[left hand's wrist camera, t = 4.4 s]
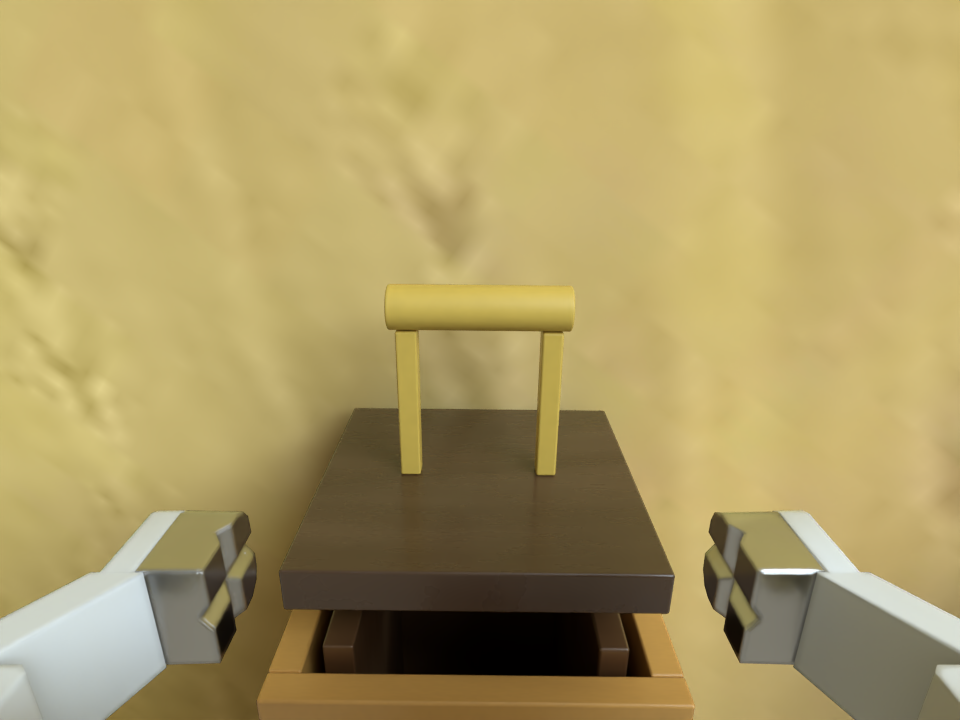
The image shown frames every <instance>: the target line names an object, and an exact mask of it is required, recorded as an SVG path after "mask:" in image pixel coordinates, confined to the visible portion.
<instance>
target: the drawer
mask: <svg viewBox="0 0 960 720" xmlns="http://www.w3.org/2000/svg"><path fill="white" fill-rule="evenodd" d="M384 309H385V322H386V326H387V328H388V329H389V330H396V332H395V346H396V368H397V390H398V409H375V408H356V409H354V411H353V413H352V416H351V418H350V420H349V422H348V424H347V426H346V428H345V431H344V433H343V435H342V437H341V439H340V441H339V443H338V446H337V448H336V450H335V452H334V454H333V456H332V459H331V461H330V463H329V465H328V467H327V469H326V471H325V474H324V476H323V478H322V480H321V482H320V484H319V486H318V489H317V491H316V493H315V495H314V497H313V499H312V501H311V504H310V506H309V508H308V510H307V512H306V514H305V516H304V519H303V521H302V523H301V525H300V527H299V529H298V532H297V534H296V536H295V538H294V540H293V542H292V544H291V547H290V549H289V551H288V553H287V555H286V557H285V559H284V562H283V564H282V566H281V568H280V570H279V576H280V583H281V590H282V597H283V604H284V609H286V610H334V611H333V615H332V618H331V621H330V624H329V627H328V631H327V634H326V637H325V640H324V643H323V654H324V663H325V672H326V673H344V674H430V675H517V676H603V677H626V672H627V665H628V657H629V646H628V643H627V639H626V636H625V632H624V628H623V625H622V621H621V618H620V614H619V613H635V614H668V613H669V610H670V604H671V597H672V591H673V584H674V578H675V575H674V573H673V570H672V568H671V566H670V563H669V561H668V559H667V556H666V554H665V552H664V549H663V547H662V545H661V542H660V540H659V538H658V535H657V533H656V531H655V528H654V526H653V524H652V521H651V519H650V517H649V514H648V512H647V510H646V507H645V505H644V503H643V500H642V498H641V496H640V493H639V491H638V489H637V486H636V484H635V482H634V479H633V477H632V475H631V473H630V470H629V468H628V466H627V463H626V461H625V459H624V456H623V454H622V452H621V449H620V447H619V445H618V442H617V440H616V438H615V435H614V433H613V431H612V428H611V426H610V424H609V421H608V419H607V417H606V414H605V412H604V411H570V410H559V408H560V392H561V376H562V360H563V344H564V334H563V331H571V330H572V328H573V325H574V317H575V295H574V290H573V287H572V286H530V285H427V284H389V285H387V287H386V291H385V304H384ZM418 330H469V331H541V341H540V362H539V383H538V404H537V410H472V409H421V401H420V368H419V335H418Z"/></svg>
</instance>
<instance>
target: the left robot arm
mask: <svg viewBox="0 0 960 720" xmlns="http://www.w3.org/2000/svg"><path fill="white" fill-rule="evenodd" d="M250 533H251V529H250V524H249V519H248V516H247V515H246V514H245V513H244V512H235V511H189V510H188V511H183V510H159V511H156V512H153V513H151V514H150V515H149V516H148V517H147V519H146V520H145V521H144V522H143V523H142V524H141V525H140V527H139V528H138V529H137V530H136V531H135V532H134V534H133V535H132V536H131V537H130V538H129V539H128V540H127V542H126V543H125V544H124V545H123V546H122V547H121V548H120V550H119V551H118V552H117V553H116V554H115V555H114V557H113V558H112V559H111V560H110V561H109V562H108V563H107V565H106V566H105V567H104V568H103V569H102V570H101V572H90V573H88V574H86V575H84V576H82V577H80V578H78V579H76V580H75V581H73V582H71V583H69V584H67V585H65V586H63V587H61V588H59V589H57V590H55V591H53V592H51V593H49V594H47V595H45V596H43V597H41V598H40V599H38V600H36V601H34V602H32V603H30V604H28V605H26V606H24V607H22V608H20V609H18V610H16V611H14V612H12V613H10V614H8V615H6V616H5V617H3V618H1V619H0V720H106V719H107V718H108V717H109V716H110V715H111V714H113V713H114V712H115V711H116V710H117V709H118V708H120V707H121V706H122V705H123V704H124V703H125V702H127V701H128V700H129V699H130V698H131V697H132V696H134V695H135V694H136V693H137V692H138V691H140V690H141V689H142V688H143V687H144V686H145V685H147V684H148V683H149V682H150V681H151V680H152V679H154V678H155V677H156V676H157V675H158V674H159V673H161V672H162V671H163V670H164V669H165V668H166V665H167V664H202V663H220V662H221V660H222V658H223V656H224V654H225V652H226V650H227V648H228V646H229V644H230V642H231V640H232V638H233V636H234V634H235V632H236V625H235V619H234V618H235V617H237V616H238V615H239V614H241V613H242V612H244V611H245V610H246V609H247V607H248V605H249V603H250V601H251V599H252V596H253V592H254V588H255V583H256V570H257V565H256V558H255V553H254V552H253V551H252V550H251V549H250V548H249V547H248V546H247V545H246V544H245V542H246V541H247V539H248V537H249V535H250ZM709 533H710V535H711V537H712V539H713V541H714V542H715V544H714V545H713V546H712V547H711V548H710V549H709V550H708V551H707V552H706V553H705V559H704V567H703V573H704V585H705V589H706V592H707V596H708V599H709V601H710V603H711V605H712V607H713V609H714V610H715V611H716V612H718V613H719V614H721V615H722V616H723V617H725V618H726V619H725V625H724V632H725V634H726V636H727V638H728V640H729V642H730V644H731V646H732V648H733V650H734V652H735V654H736V656H737V658H738V660H739V662H740V663H757V664H792V665H794V666H793V667H794V668H795V669H796V670H797V671H799V672H800V673H801V674H802V675H803V676H804V677H806V678H807V679H808V680H809V681H810V682H811V683H813V684H814V685H815V686H816V687H817V688H818V689H820V690H821V691H822V692H823V693H824V694H825V695H827V696H828V697H829V698H830V699H831V700H832V701H834V702H835V703H836V704H837V705H838V706H839V707H841V708H842V709H843V710H844V711H845V712H846V713H848V714H849V715H850V716H851V717H852V718H853V719H855V720H960V619H959V618H957V617H955V616H953V615H951V614H949V613H947V612H946V611H944V610H942V609H940V608H938V607H936V606H934V605H932V604H930V603H928V602H926V601H924V600H922V599H920V598H918V597H916V596H915V595H913V594H911V593H909V592H907V591H905V590H903V589H901V588H899V587H897V586H895V585H893V584H891V583H889V582H887V581H885V580H883V579H882V578H880V577H878V576H876V575H874V574H872V573H870V572H859V570H858V569H857V568H856V567H855V566H854V565H853V563H852V562H851V561H850V560H849V559H848V558H847V557H846V555H845V554H844V553H843V552H842V551H841V550H840V549H839V547H838V546H837V545H836V544H835V543H834V542H833V540H832V539H831V538H830V537H829V536H828V535H827V534H826V532H825V531H824V530H823V529H822V528H821V527H820V526H819V524H818V523H817V522H816V521H815V520H814V519H813V517H812V516H811V515H810V514H809V513H807V512H805V511H803V510H786V511H772V512H715V513H714V515H713V517H712V519H711V523H710V528H709Z"/></svg>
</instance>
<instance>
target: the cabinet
mask: <svg viewBox="0 0 960 720" xmlns="http://www.w3.org/2000/svg"><path fill="white" fill-rule="evenodd" d="M333 611H334V610H292V613H291V615H290V618H289V620H288V623H287V625H286V628H285V630H284V633H283V635H282V638H281V640H280V643H279V645H278V648H277V650H276V653H275V655H274V658H273V660H272V663H271V665H270V668H269V670H268V674H267V676H266V678H265V681H264V683H263V686H262V688H261V691H260V693H259V696H258V698H257V701H256V702H257V709H258V714H259V720H693V715H694V709H695V705H694V702H693V700H692V697H691V694H690V691H689V689H688V686H687V683H686V680H685V679H684V675H683V672H682V669H681V667H680V664H679V661H678V658H677V656H676V653H675V650H674V648H673V645H672V642H671V639H670V637H669V634H668V631H667V628H666V626H665V623H664V620H663V618H662V615H661V614H635V613H619V614H620V618H621V621H622V625H623V628H624V632H625V636H626V639H627V643H628V646H629V657H628V665H627V672H626V677H603V676H517V675H430V674H344V673H326V672H325V663H324V654H323V643H324V640H325V637H326V634H327V631H328V627H329V624H330V621H331V618H332V615H333Z"/></svg>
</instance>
